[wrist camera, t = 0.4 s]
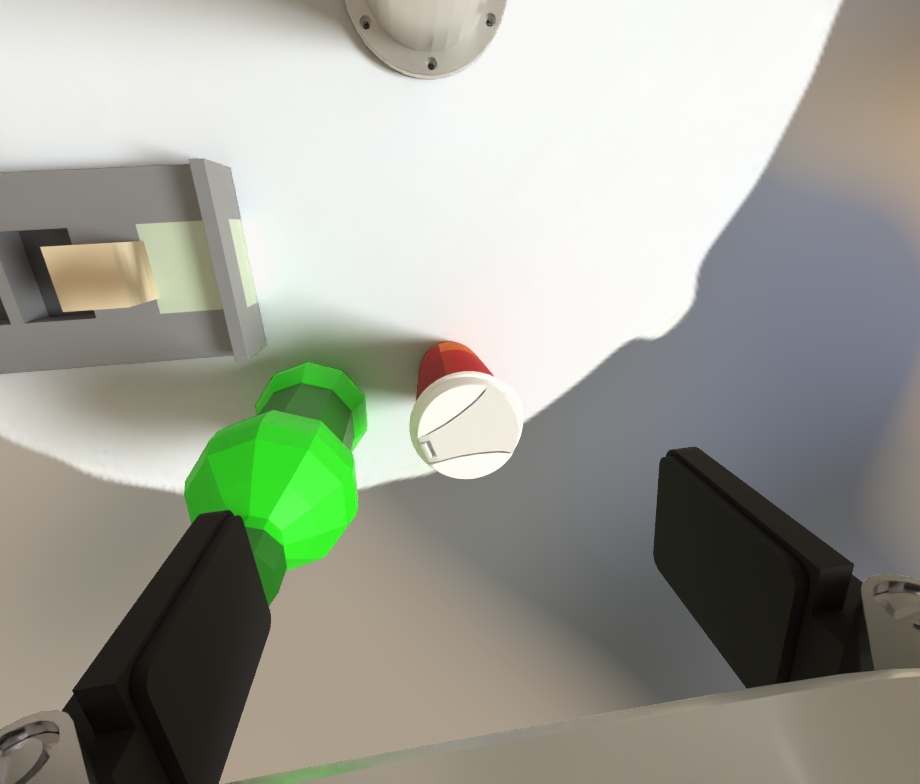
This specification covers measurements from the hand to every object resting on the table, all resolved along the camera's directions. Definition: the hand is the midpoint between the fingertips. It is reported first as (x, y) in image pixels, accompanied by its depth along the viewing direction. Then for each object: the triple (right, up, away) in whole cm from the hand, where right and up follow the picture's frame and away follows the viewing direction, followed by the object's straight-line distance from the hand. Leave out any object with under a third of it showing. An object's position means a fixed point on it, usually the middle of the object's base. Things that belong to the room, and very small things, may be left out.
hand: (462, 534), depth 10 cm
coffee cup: (-1, +5, +36) cm, 36 cm away
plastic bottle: (-14, +2, +36) cm, 38 cm away
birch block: (-27, +13, +27) cm, 40 cm away
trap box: (-31, +13, +29) cm, 45 cm away
